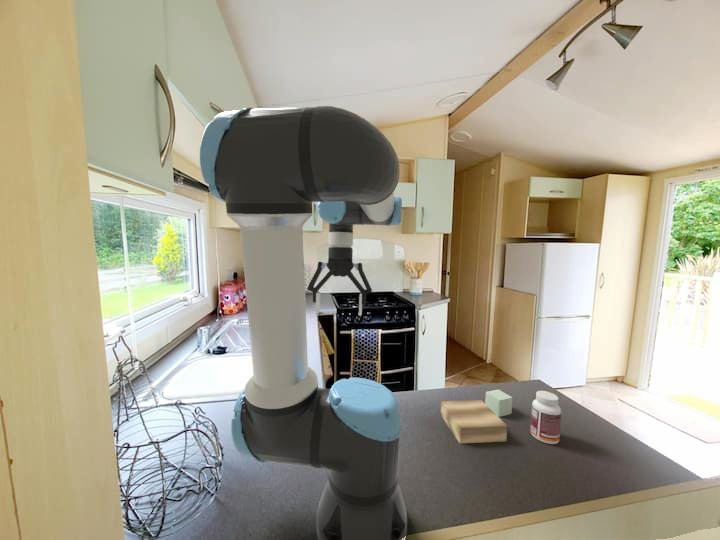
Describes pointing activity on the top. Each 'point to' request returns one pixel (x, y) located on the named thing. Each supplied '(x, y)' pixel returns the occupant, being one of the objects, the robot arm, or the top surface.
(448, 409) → the oak block
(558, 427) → the pill bottle
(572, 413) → the top surface
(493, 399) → the sage cube
